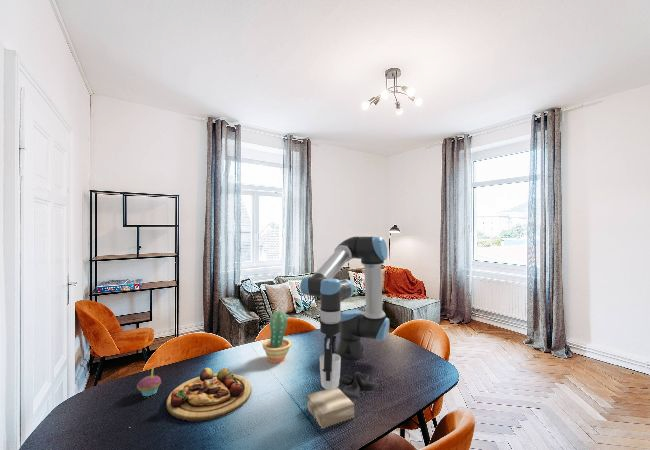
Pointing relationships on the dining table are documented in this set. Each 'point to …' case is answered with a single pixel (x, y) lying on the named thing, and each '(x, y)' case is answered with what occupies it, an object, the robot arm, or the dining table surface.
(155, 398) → the dining table surface
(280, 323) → the potted cactus
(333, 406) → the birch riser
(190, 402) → the wooden plate with food
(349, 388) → the cloth
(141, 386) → the cupcake
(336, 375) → the white cup
